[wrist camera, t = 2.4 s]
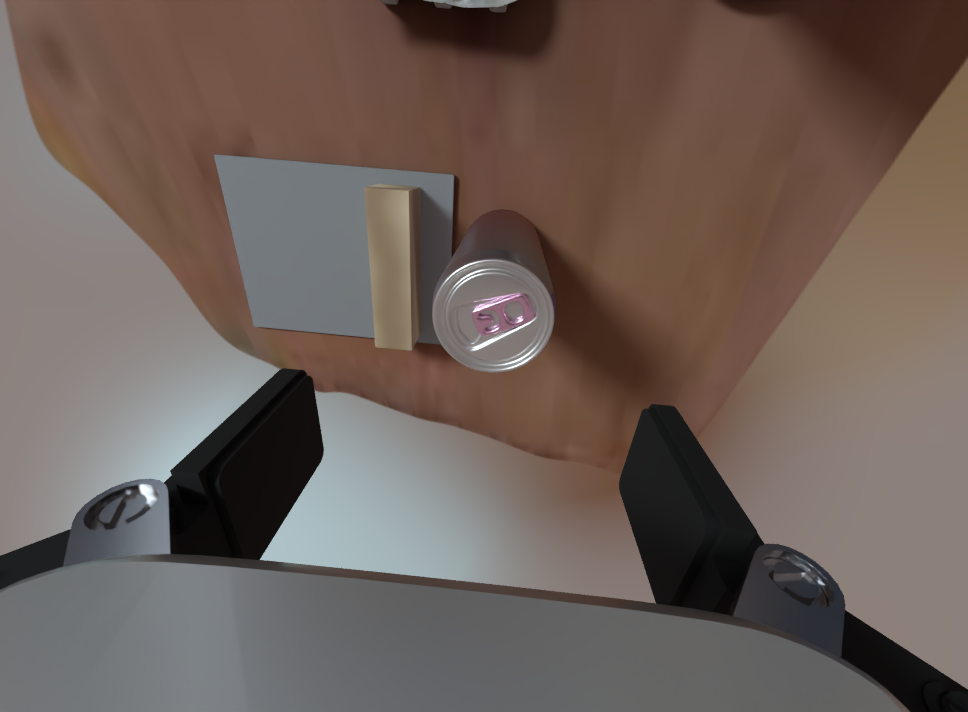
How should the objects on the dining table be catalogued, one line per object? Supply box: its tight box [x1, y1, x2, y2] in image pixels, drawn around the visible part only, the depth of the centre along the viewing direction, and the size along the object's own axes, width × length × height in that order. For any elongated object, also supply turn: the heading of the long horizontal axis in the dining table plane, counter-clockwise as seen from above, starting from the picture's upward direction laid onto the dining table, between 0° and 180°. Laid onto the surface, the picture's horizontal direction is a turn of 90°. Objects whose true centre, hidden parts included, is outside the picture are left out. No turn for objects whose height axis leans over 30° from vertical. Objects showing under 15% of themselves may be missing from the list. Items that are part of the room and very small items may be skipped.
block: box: [364, 184, 421, 351], centre depth 30 cm, size 3×12×4 cm, turn 176°
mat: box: [214, 155, 455, 345], centre depth 32 cm, size 18×14×1 cm
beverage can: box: [432, 209, 557, 372], centre depth 24 cm, size 6×6×15 cm
